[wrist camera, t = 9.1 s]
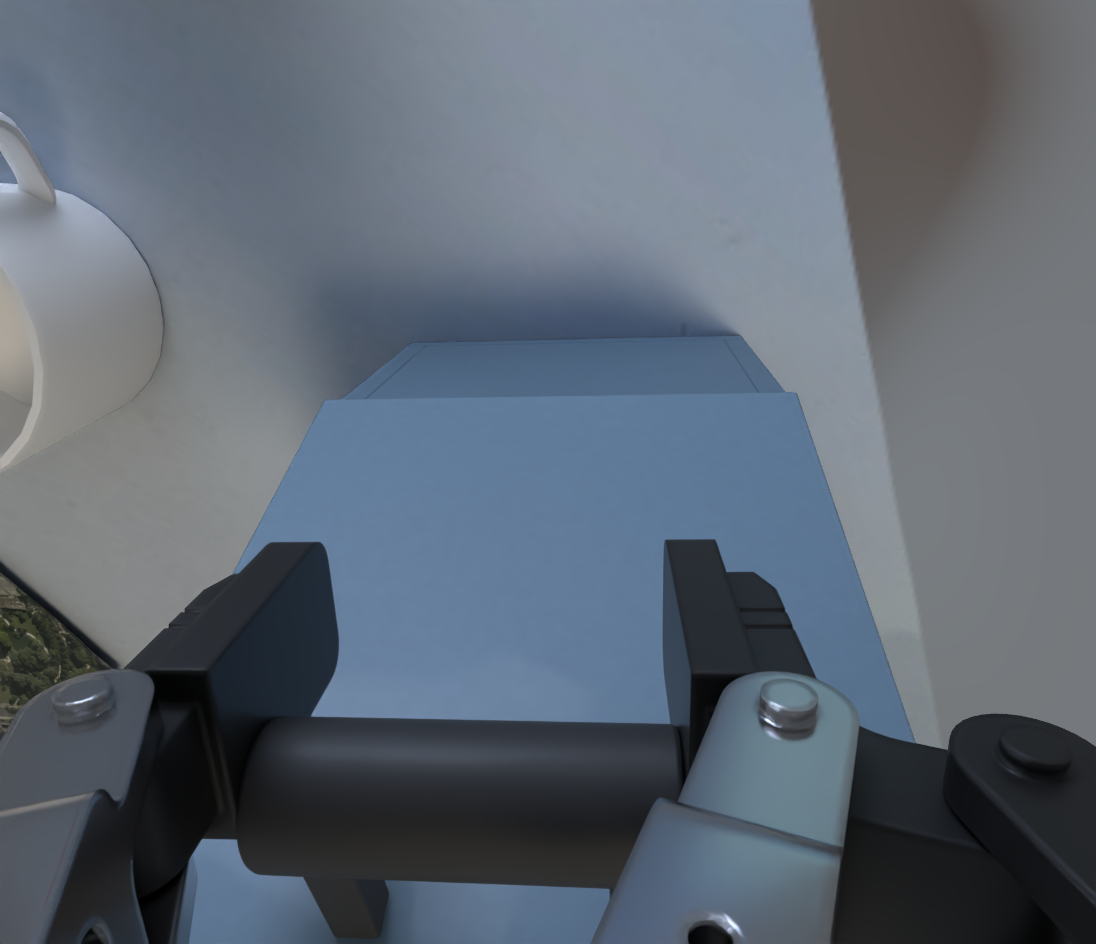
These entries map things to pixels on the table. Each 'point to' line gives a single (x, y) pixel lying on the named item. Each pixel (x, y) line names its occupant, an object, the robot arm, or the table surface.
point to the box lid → (512, 656)
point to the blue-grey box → (570, 368)
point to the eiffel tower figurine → (35, 651)
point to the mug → (65, 310)
